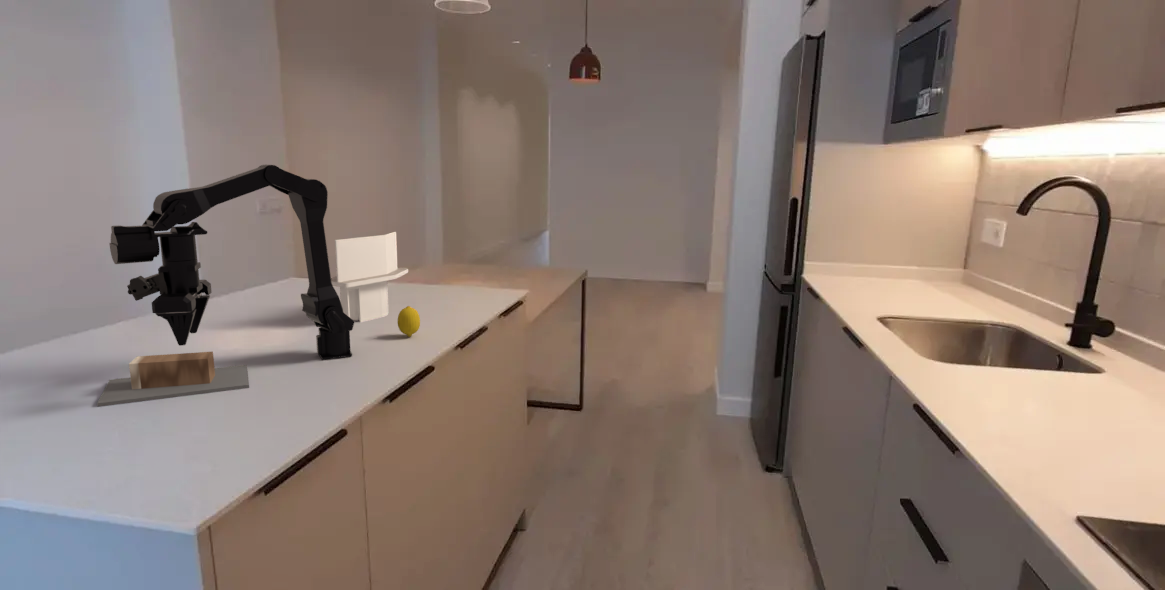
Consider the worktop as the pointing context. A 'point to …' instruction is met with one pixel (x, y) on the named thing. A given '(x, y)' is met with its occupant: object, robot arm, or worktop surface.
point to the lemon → (408, 321)
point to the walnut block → (172, 370)
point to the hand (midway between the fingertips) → (188, 338)
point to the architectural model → (366, 274)
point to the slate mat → (174, 387)
